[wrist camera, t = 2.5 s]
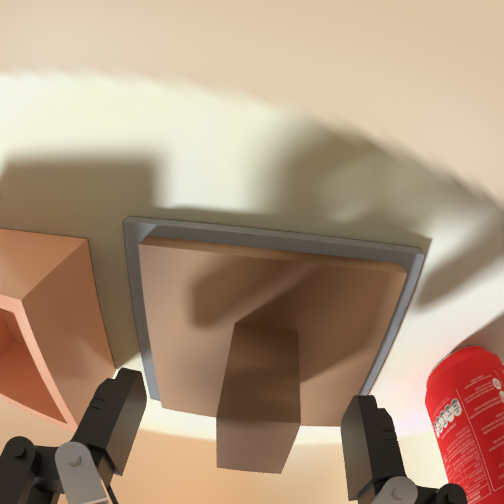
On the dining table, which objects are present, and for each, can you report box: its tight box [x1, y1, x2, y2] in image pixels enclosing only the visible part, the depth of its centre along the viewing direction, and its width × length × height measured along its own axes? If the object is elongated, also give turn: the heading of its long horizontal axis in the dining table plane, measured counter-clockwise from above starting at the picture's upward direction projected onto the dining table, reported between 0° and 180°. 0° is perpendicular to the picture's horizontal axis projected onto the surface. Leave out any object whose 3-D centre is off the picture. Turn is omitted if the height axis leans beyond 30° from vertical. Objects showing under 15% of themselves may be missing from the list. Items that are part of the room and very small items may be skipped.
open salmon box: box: [0, 229, 116, 432], centre depth 13 cm, size 8×8×5 cm
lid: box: [139, 236, 407, 474], centre depth 12 cm, size 10×10×5 cm
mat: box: [123, 216, 425, 401], centre depth 14 cm, size 12×11×1 cm
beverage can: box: [425, 345, 504, 504], centre depth 10 cm, size 5×5×12 cm
